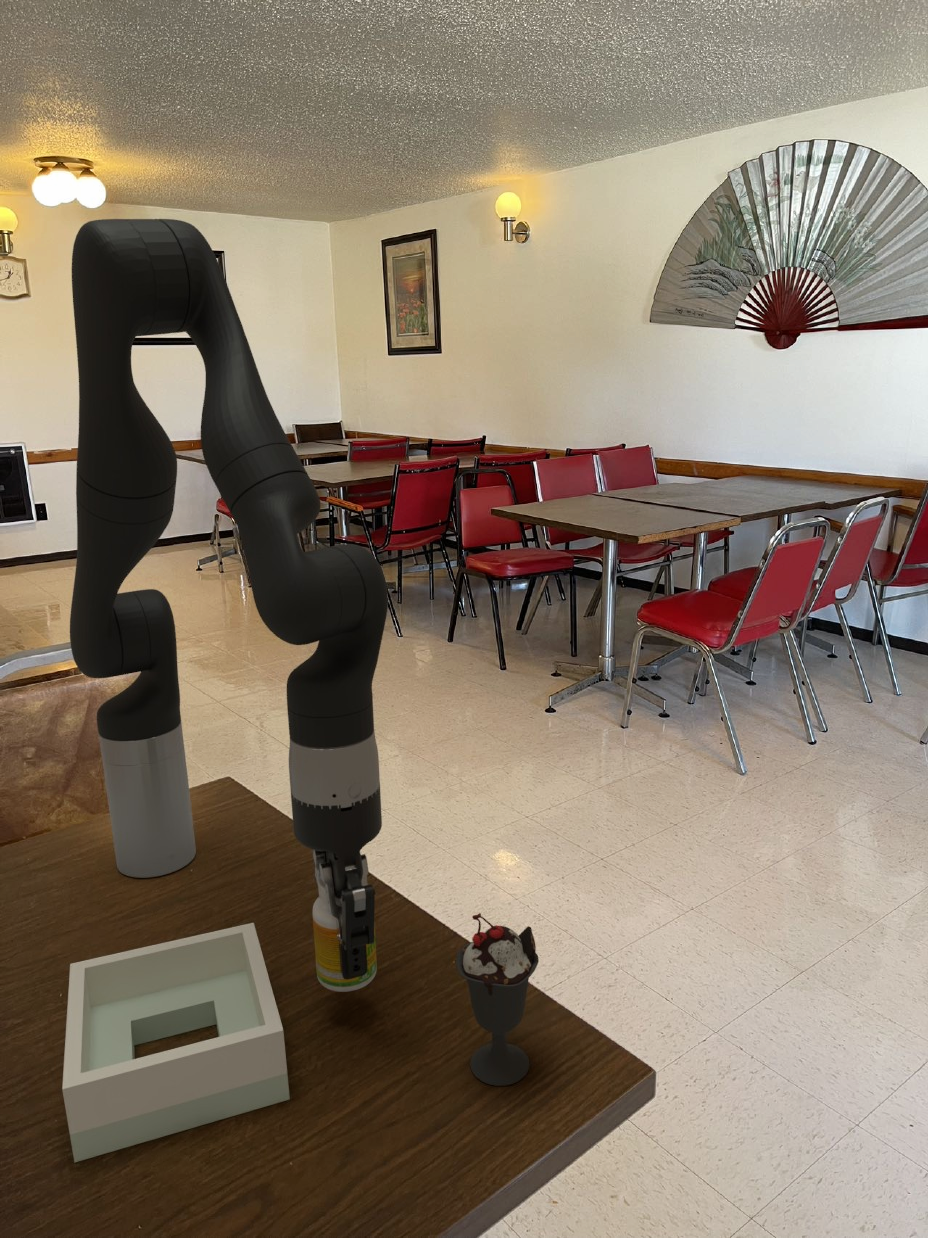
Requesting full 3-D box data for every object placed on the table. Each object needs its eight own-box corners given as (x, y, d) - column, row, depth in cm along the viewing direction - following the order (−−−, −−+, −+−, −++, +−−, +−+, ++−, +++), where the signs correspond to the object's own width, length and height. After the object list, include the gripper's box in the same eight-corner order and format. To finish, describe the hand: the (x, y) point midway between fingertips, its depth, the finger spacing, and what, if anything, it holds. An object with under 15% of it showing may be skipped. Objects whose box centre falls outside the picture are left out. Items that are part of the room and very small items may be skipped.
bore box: (80, 1026, 82) (70, 963, 81) (259, 982, 88) (253, 922, 86) (74, 1162, 68) (62, 1089, 66) (289, 1099, 73) (283, 1030, 71)
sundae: (448, 1084, 74) (441, 921, 70) (475, 1030, 80) (471, 877, 77) (526, 1104, 72) (523, 936, 68) (548, 1047, 78) (547, 890, 74)
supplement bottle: (367, 997, 79) (361, 898, 77) (308, 990, 80) (300, 892, 78) (384, 959, 84) (379, 865, 82) (328, 953, 85) (322, 860, 83)
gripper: (276, 757, 82) (289, 921, 87) (308, 828, 69) (322, 1017, 74) (356, 744, 85) (365, 904, 89) (403, 810, 72) (410, 994, 76)
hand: (346, 954), depth 82 cm, fingers closed on supplement bottle, 5 cm apart
